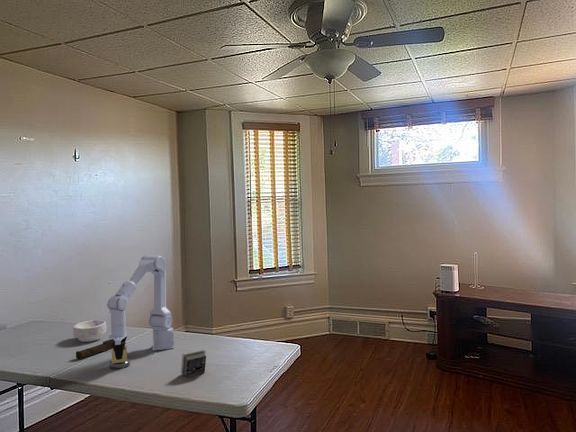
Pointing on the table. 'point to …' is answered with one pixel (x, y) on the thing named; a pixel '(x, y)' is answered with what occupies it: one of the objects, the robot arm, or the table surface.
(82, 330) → the white bowl
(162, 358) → the table surface
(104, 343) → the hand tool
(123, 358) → the socket
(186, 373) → the electrical switch
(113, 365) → the ratchet
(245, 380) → the table surface
